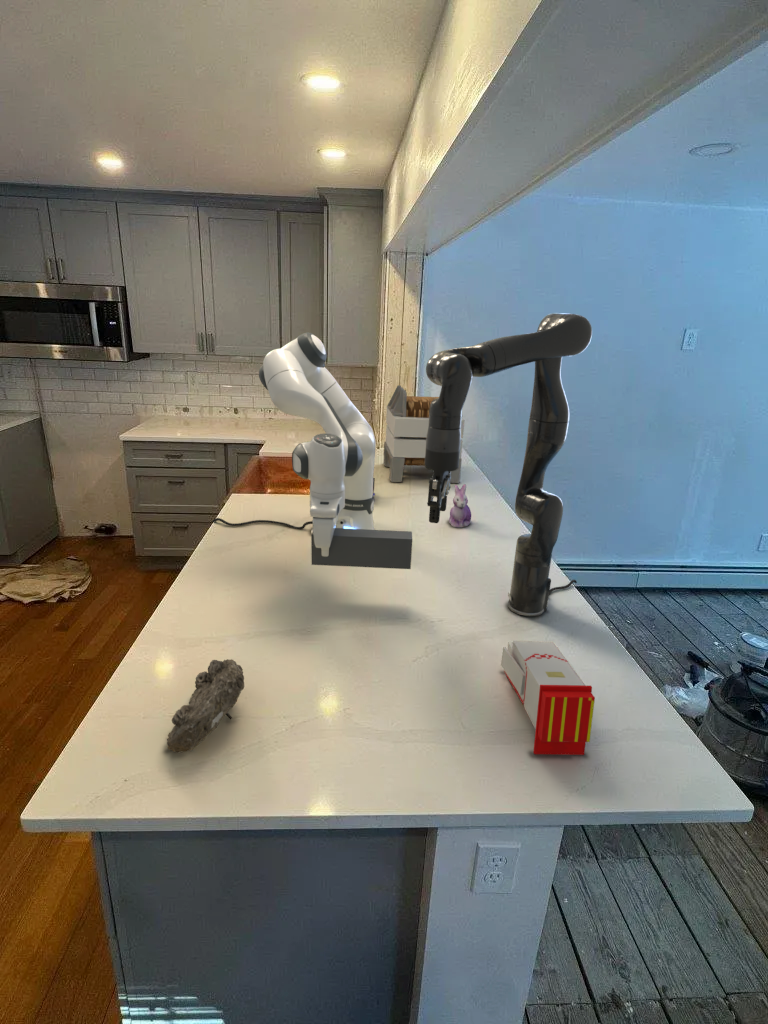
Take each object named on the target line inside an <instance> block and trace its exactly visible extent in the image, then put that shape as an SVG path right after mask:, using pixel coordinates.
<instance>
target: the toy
mask: <svg viewBox="0 0 768 1024" xmlns="http://www.w3.org/2000/svg"><path fill="white" fill-rule="evenodd" d="M500 666H501V668H502V669H503V672H504V674H505V676H506V678H507V679H508V681H509V683H510V685H511V686H512V688H513V690H514V691H515V693H516V695H517V697H518V698H519V701H520V702H521V703H522V705H523V707H524V710H525V712H526V714H527V716H528V718H529V720H530V722H531V724H532V725H533V728H534V730H535V731H534V743H533V755H566V756H567V755H569V756H570V755H571V756H572V755H573V756H584V755H585V752H586V751H585V750H586V743H590V741H591V734H592V732H591V731H592V725H593V716H594V710H595V709H594V708H595V699H596V697H595V696H594V694H593V693H592V692H593V687H592V685H587V684H585V681H583V679H581V677H580V676H579V674H578V673H577V672H576V670H575V669H574V667H573V666H572V664H570V662H569V660H568V659H567V658H566V656H564V654H563V653H562V651H561V650H560V648H559V646H557V645H556V643H555V642H554V641H545V640H544V641H543V640H542V641H540V640H537V641H536V640H512V641H509V642H507V647H506V646H503V647H502V653H501V660H500Z"/></svg>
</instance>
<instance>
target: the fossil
mask: <svg viewBox="0 0 768 1024" xmlns="http://www.w3.org/2000/svg"><path fill="white" fill-rule="evenodd" d="M243 670H244V669H243V667H242V665H240V664H237V662H236V661H235V660H234V659H232V658H231V659H227V658H226V659H224V660H223V661H222V660H217V659H212V660H211V661H210V663H209V665H208V666H207V671H201V672H199V673H198V674H197V675H196V676H195V680H194V684H195V685H194V687H195V689H194V690H193V693H192V694H191V697H190V698H189V700H188V704H184V705H182V706H181V707H180V709H177V710H176V711H175V713H174V715H173V716H172V718H171V723H172V724H173V727H172V730H171V731H170V732H168V734H167V738H166V741H167V742H166V745H167V749H168V750H169V751H173V752H174V753H176V754H178V753H182V752H188V751H189V752H192V751H193V750H195V748H196V747H197V746H199V744H200V743H201V742H203V741H204V740H205V739H206V738H207V737H208V736H209V735H210V734H211V733H212V732H214V730H215V729H217V727H218V726H219V724H220V722H221V721H222V720H223V719H224V718H225V716H226V717H227V719H229V720H233V717H232V715H230V714H229V710H230V709H231V708H234V706H235V704H236V703H237V702H238V699H239V697H240V695H241V693H242V691H243V690H245V689H244V688H245V675H244V671H243Z"/></svg>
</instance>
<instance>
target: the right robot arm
mask: <svg viewBox="0 0 768 1024" xmlns="http://www.w3.org/2000/svg"><path fill="white" fill-rule="evenodd" d="M592 336H593V327H592V324H591V322H590V321H589V319H588V318H587V317H585V316H583V315H581V314H578V313H564V312H563V313H562V312H551V313H548V314H546V315H545V316H544V317H543V318H542V319H541V320H540V323H539V324H538V327H537V330H536V331H535V332H534V331H533V332H530V333H528V332H527V333H522V334H515V335H507V336H501V337H497V338H494V339H490V340H485V341H482V342H479V343H476V344H474V345H470V346H462V347H455V348H449V349H444V350H441V351H438V352H436V353H434V354H433V355H432V356H431V357H430V358H429V359H428V361H427V363H426V365H425V373H426V376H427V379H429V381H430V382H431V383H433V384H434V385H437V386H440V387H441V389H440V393H439V396H438V397H439V398H436V399H434V400H433V401H432V402H431V404H430V410H429V426H428V431H427V437H426V452H425V466H424V467H425V468H426V469H428V470H431V471H433V473H432V476H430V479H429V480H428V495H427V496H428V497H427V502H426V504H427V507H429V514H428V522H429V523H432V524H438V523H440V517H441V512H445V511H446V510H447V503H448V496H449V494H450V490H451V483H450V479H451V471H455V470H457V469H458V467H459V456H460V445H461V440H462V438H461V420H462V419H463V408H464V405H465V403H466V400H467V396H468V394H469V391H470V388H471V384H472V380H473V378H483V377H488V376H491V375H494V374H497V373H501V372H503V371H506V370H509V369H510V370H511V369H513V368H517V367H520V366H523V365H527V364H531V363H534V379H533V388H532V397H531V406H530V412H529V420H528V427H527V436H526V446H525V451H524V458H523V466H522V469H521V474H520V478H519V483H518V487H517V492H516V495H515V502H514V511H515V514H516V516H517V518H519V519H520V520H521V521H523V522H524V523H527V524H529V525H531V526H532V528H531V532H530V533H526V534H525V533H524V534H521V535H520V536H519V535H518V538H517V539H516V545H515V553H514V560H513V561H514V562H513V567H512V574H511V575H512V576H511V582H510V591H508V593H507V596H508V603H507V607H508V609H509V610H510V611H511V612H513V613H514V614H516V615H520V616H523V617H538V616H541V615H543V614H544V612H547V609H548V602H549V597H550V594H551V593H552V592H553V591H558V590H564V589H567V588H569V587H571V585H573V583H575V584H577V583H578V581H577V580H576V579H572V580H570V582H568V583H567V584H566V585H562V586H556V587H552V588H551V585H552V584H551V583H552V579H551V577H549V576H550V571H551V570H550V569H551V563H552V558H553V557H552V556H553V551H554V547H555V546H556V544H557V541H558V538H559V535H560V534H559V533H560V530H561V529H560V528H561V524H562V520H563V516H564V515H563V514H564V504H563V500H562V499H561V497H559V496H558V495H556V494H554V493H551V492H548V491H546V490H544V480H545V475H546V472H547V469H548V467H549V465H550V464H551V462H552V461H553V460H554V458H555V457H557V455H558V453H559V452H560V451H561V449H562V448H563V446H564V444H565V442H566V439H567V435H568V430H569V422H570V407H569V402H568V400H567V396H566V392H565V389H564V386H563V381H562V376H561V374H562V373H561V372H562V371H561V370H562V363H563V362H562V360H563V358H564V357H574V356H578V355H580V354H581V353H583V352H584V351H585V350H586V349H587V348H588V346H589V345H590V343H591V340H592ZM434 498H436V501H435V500H434Z"/></svg>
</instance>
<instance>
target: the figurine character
mask: <svg viewBox="0 0 768 1024" xmlns="http://www.w3.org/2000/svg"><path fill="white" fill-rule="evenodd" d="M375 481H376V479H375V477H373V496H374V497H375V495H376V494H375Z"/></svg>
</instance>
